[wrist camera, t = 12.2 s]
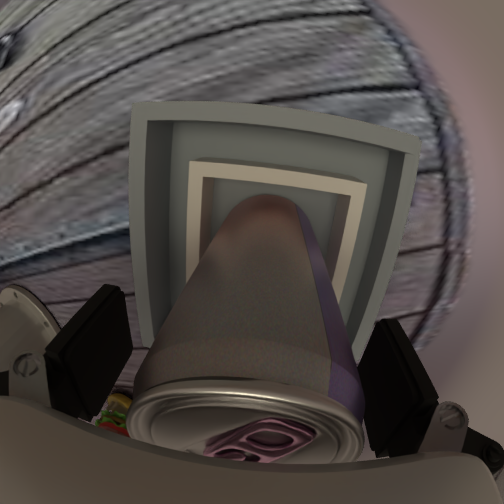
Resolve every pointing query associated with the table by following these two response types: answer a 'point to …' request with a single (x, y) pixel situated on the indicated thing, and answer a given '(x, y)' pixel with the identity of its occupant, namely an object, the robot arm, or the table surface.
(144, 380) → the beverage can
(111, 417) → the hamburger
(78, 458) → the robot arm
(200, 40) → the table surface
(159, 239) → the box
